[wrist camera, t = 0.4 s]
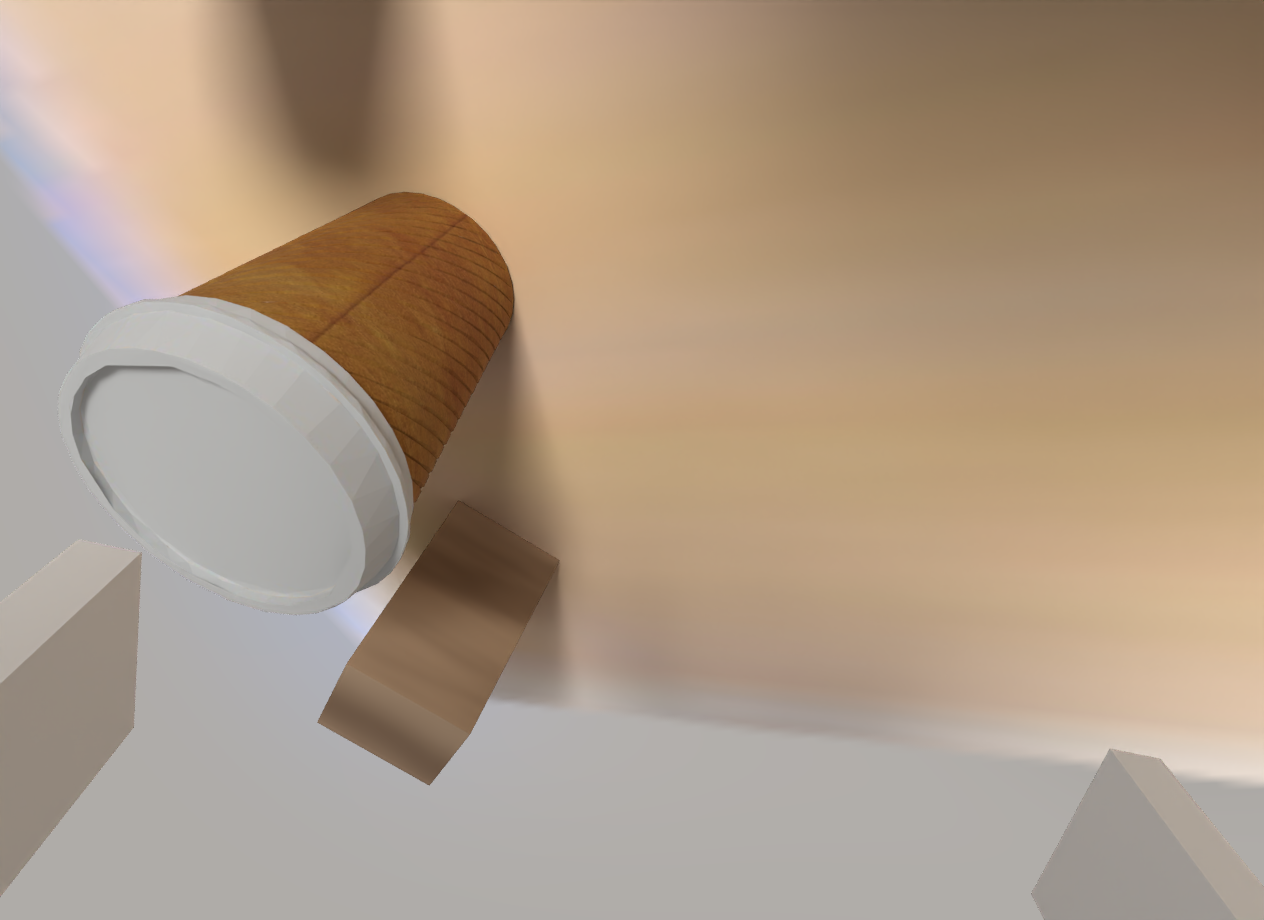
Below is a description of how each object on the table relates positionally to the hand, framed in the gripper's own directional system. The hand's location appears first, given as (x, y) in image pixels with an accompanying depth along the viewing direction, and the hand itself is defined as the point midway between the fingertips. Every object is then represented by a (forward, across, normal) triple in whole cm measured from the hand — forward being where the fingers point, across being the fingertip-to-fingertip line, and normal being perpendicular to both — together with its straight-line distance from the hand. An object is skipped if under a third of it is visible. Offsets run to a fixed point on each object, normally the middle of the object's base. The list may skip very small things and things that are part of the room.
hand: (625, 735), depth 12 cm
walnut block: (+26, -3, -12) cm, 29 cm away
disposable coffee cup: (+22, -7, +1) cm, 23 cm away
